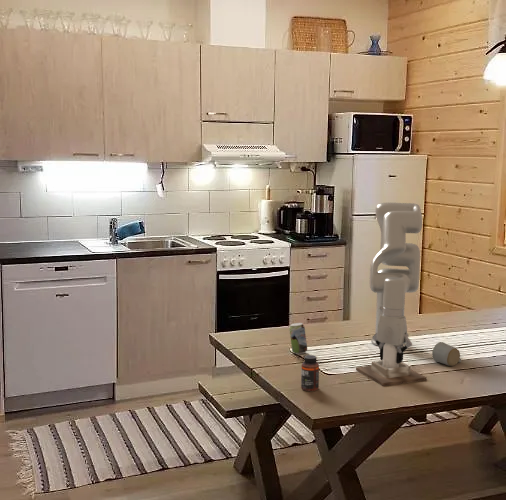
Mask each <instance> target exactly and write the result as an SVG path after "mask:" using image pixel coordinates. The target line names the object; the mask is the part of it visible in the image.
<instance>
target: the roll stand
mask: <svg viewBox="0 0 506 500" xmlns="http://www.w3.org/2000/svg"><path fill="white" fill-rule="evenodd" d="M355 370H356V371H357V372H358V373H360V374H362V375H363V376H365V377H367V378H368V379H371V380H372V381H373V382H375V383H378V385H380V386H384V387H385V386H391V385H392V386H393V385H400V384H406V383H407V384H408V383H414V382H420V381H427V376H425V375H424V374H422V373H419V372H417V371H415V370H414V369H412V368H411V366H410V365H409V364H406V363H404V362H403V361H402V362H401V363H399V367H398V368H390V369H387V368H385V367H383V360H373V361H371V365H363V366H356V367H355Z"/></svg>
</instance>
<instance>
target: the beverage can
mask: <svg viewBox="0 0 506 500" xmlns="http://www.w3.org/2000/svg"><path fill="white" fill-rule="evenodd" d="M288 331H289V338H290V345H291V352H292V353H294V354H295V355H301V354H305V353H306V352H307V351H308V342H307V335H306V329H305V325H304V323H303V322H296V323H295V322H294V323H291V324H290V325H289V329H288Z"/></svg>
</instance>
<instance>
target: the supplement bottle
mask: <svg viewBox="0 0 506 500" xmlns="http://www.w3.org/2000/svg"><path fill="white" fill-rule="evenodd" d="M303 360H304V361H303V362H302V363H301V368H300V369H301V370H300V371H301V372H300V373H301V375H300V377H301V379H300V380H301V381H300V382H301V383H300V384H301V385H300V388H301V390H303V391H304V392H305V391H306V392H315V391H317V390H319V387H320V386H319V385H320V384H319V382H320V364H319V362H317V356H316V355H314V354H313V355H312V354H307V355H305V356H304V359H303Z"/></svg>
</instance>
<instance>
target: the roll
mask: <svg viewBox="0 0 506 500" xmlns="http://www.w3.org/2000/svg"><path fill="white" fill-rule="evenodd" d="M397 353H398V348H397V346H396V345H391V344H386V343H385V344H384V346H383V367H385V368H387V369H390V368H398V367H399V364H397V363H396V360H397Z"/></svg>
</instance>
